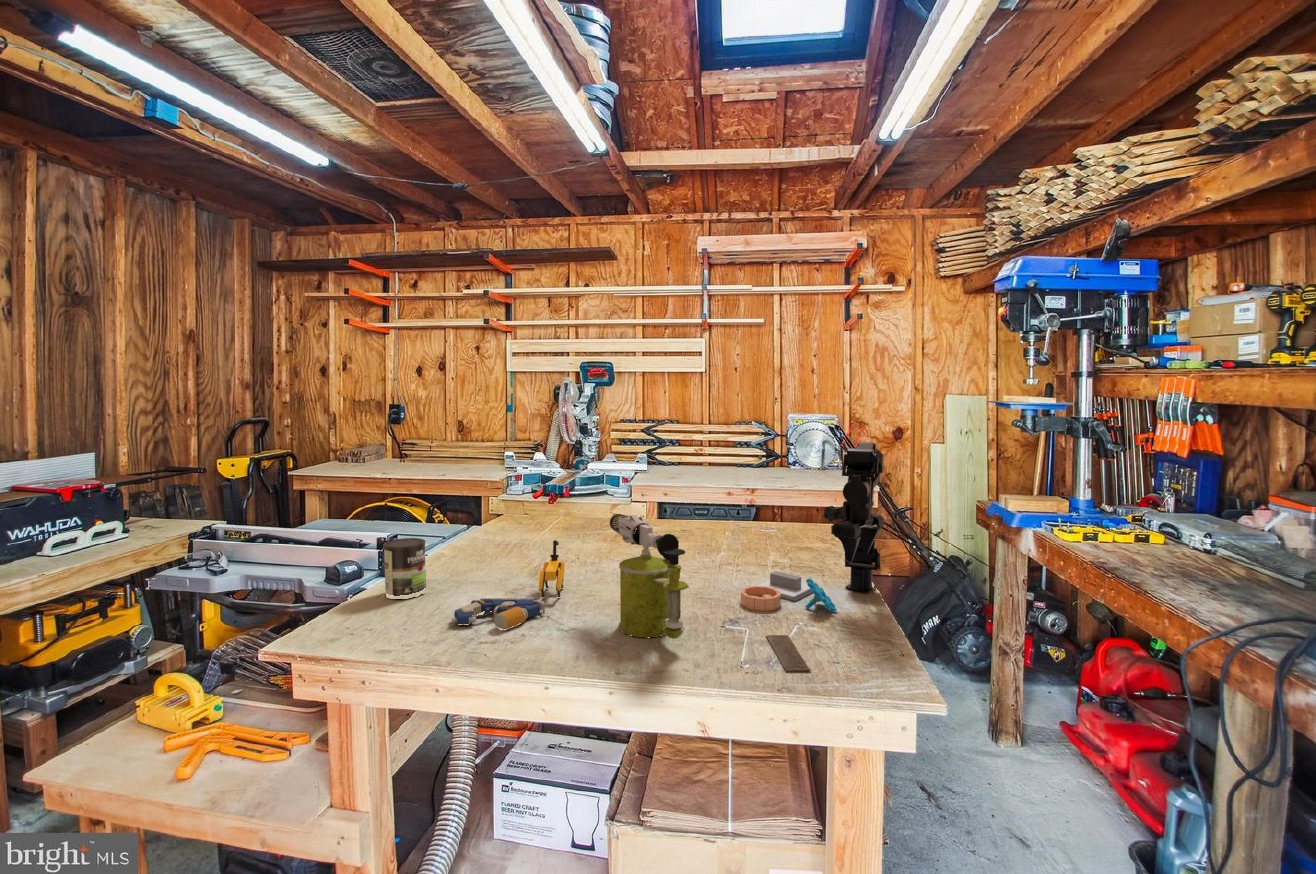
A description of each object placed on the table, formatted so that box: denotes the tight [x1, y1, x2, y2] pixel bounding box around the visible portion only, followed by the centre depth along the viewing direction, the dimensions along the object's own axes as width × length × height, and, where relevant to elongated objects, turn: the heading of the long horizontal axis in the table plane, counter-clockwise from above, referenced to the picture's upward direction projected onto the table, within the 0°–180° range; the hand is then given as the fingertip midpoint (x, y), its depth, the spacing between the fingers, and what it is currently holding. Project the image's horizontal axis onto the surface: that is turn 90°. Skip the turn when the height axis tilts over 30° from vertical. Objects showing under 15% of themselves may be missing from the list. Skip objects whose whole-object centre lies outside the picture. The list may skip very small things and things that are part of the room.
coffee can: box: [383, 537, 427, 596], centre depth 156 cm, size 10×10×14 cm
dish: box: [740, 585, 782, 612], centre depth 149 cm, size 10×10×3 cm
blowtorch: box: [609, 513, 690, 640], centre depth 133 cm, size 13×33×25 cm, turn 28°
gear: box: [805, 578, 838, 613], centre depth 146 cm, size 11×6×10 cm
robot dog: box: [538, 539, 566, 598], centre depth 158 cm, size 6×18×13 cm, turn 4°
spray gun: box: [451, 596, 546, 629], centre depth 139 cm, size 21×4×15 cm
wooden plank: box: [765, 634, 812, 673], centre depth 121 cm, size 17×1×5 cm
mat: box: [781, 586, 821, 603], centre depth 160 cm, size 14×14×1 cm
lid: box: [756, 570, 811, 599], centre depth 160 cm, size 12×12×4 cm
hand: (857, 557), depth 149 cm, fingers open, 9 cm apart
